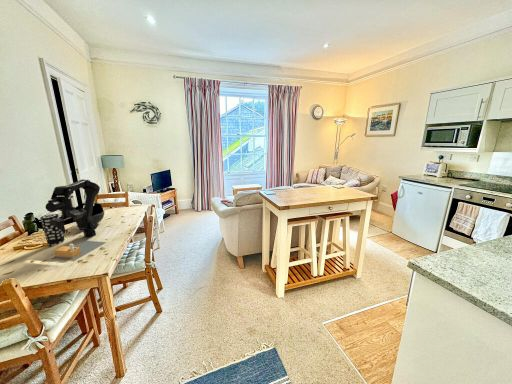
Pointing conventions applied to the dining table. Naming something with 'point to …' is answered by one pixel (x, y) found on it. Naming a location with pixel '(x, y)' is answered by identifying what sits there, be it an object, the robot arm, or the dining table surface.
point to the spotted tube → (52, 230)
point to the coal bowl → (94, 212)
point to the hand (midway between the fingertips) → (72, 229)
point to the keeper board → (81, 249)
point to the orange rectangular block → (67, 252)
